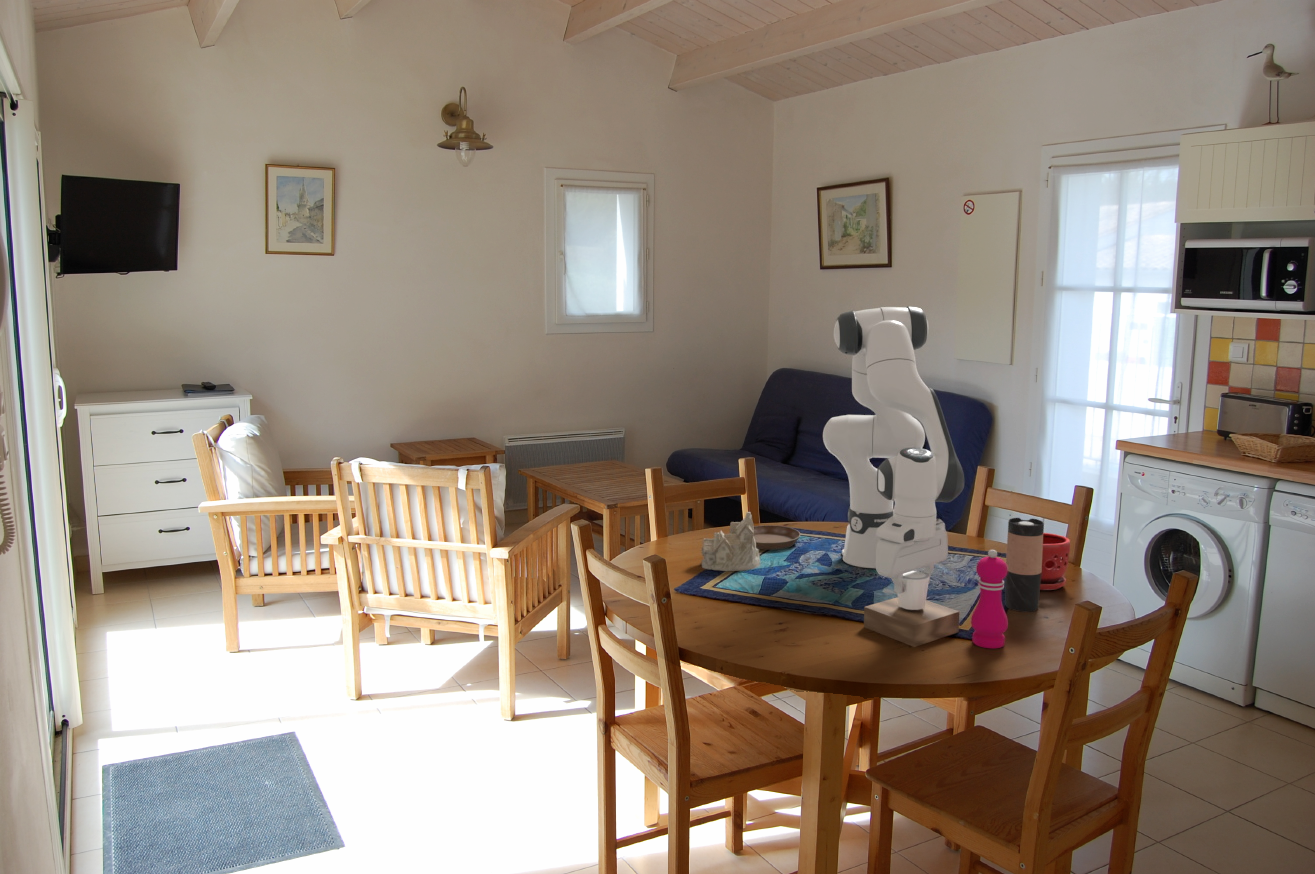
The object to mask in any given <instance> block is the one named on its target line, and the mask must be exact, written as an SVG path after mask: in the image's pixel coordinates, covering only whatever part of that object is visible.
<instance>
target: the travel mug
mask: <svg viewBox="0 0 1315 874" xmlns="http://www.w3.org/2000/svg"><path fill="white" fill-rule="evenodd" d="M1044 525H1045V524H1044V521H1042V520H1039V519H1038V518H1029V519H1027V520H1025V519H1021V518H1020V517H1012V518H1009V520H1008V522H1007V540H1006V541H1007V542H1006V555H1005V557H1006V558H1005V563H1006V565H1007V575H1006V577H1005V578H1004V588H1005V589H1004V592H1005V595H1004V596H1005V597H1004V604H1005V607H1006V608H1007V609H1010V610H1012V611H1017V612H1026V613H1027V612H1034V611H1037V610H1038V608H1039V603H1040V592H1041V590H1040V583H1041V572H1042V550H1043V533H1044V529H1045V528H1044V527H1045V526H1044Z"/></svg>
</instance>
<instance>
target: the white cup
mask: <svg viewBox="0 0 1315 874" xmlns="http://www.w3.org/2000/svg"><path fill="white" fill-rule="evenodd" d="M901 581H902V584H904V585H905V592H903V593H900V594H898V593H896V594H897V597H898V605H899V606H900V607H902V608H905V609H910V610H919V609H923V608H925V604H926V600H927V595H928V590H929V589H928V588H929V584H928V582H929V574H928V573H926V572H924V571H923V570H920V569H917V570H913V571H910V572H907V573H904V574H903V578H902V579H901Z"/></svg>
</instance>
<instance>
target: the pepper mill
mask: <svg viewBox="0 0 1315 874" xmlns="http://www.w3.org/2000/svg"><path fill="white" fill-rule="evenodd" d="M987 555H988V556H984V557H982V558H980V559H979V560H978V561H977V564H976V574H977V575H978V576H979V578H978V579H977V580H978V584H977V586H978V587H979V588H980V593H979V599H978V601H977V605H976V607H975V608H974V610H973V612H972V615H971V618H970V624H971V627H972V628H973V630H974V632H973V633H972V643H973V644H974V645H976V646H978V647H981V648H984V649H1000V648H1002V647H1003V648H1004V646H1005V639H1006V637H1005V635H1004V633H1005V632H1006V631H1007V629H1008V627H1009V622H1008V616H1007V613H1006V611H1005V609H1004V606H1003V602H1002V601H1003V600H1002V590H1004V588H1005V577H1006V575H1007V565H1006V561H1004V560H1003V559H1002V558H1000V557H998V552H997V550H996V549H989V550H988V551H987Z"/></svg>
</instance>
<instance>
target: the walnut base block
mask: <svg viewBox="0 0 1315 874" xmlns="http://www.w3.org/2000/svg"><path fill="white" fill-rule="evenodd" d="M863 611H864V612H863V615H864V616H863V628H865V629H867V630H870V631H873V632H876V633H877V634H879V635H882V636H886V637H888V638H889V639H893V640H896V641H899V642H900V643H902V644H906V645H908V646H911V647H913V648H916V647H919V646H921V645H924V644H925V645H926V644H928V643H931V642H934V641H937V640H939V639H943V638H945V637H949V636H952V635H954V634H955V635H956V634H957V633H959V630H960V610H957V609H953V608H950V607H947V606H945V605H941V604H939V603H935V602H932V601H929V600H928V599H926V604H925V608H923V609H919V610H910V609H905V608H902V607H900V606H899V605H898V596H897V597H894V598H890V599H887V600H883V601H880V602H875V603H873V604H870V605H866V606H864V607H863Z"/></svg>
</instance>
